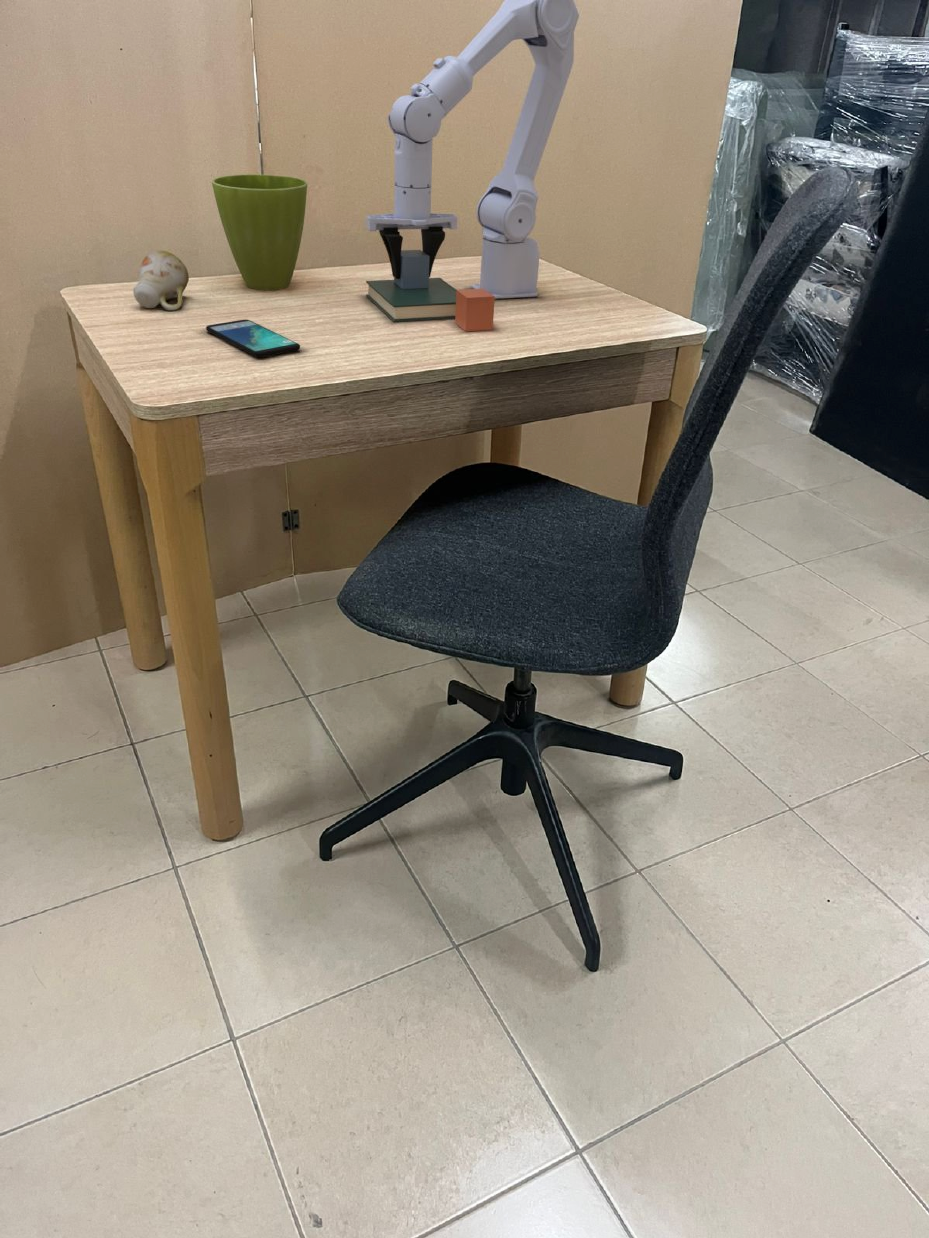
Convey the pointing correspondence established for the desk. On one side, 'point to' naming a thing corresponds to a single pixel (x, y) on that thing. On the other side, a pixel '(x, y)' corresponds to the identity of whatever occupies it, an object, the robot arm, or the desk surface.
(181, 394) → the desk surface
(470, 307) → the terracotta block
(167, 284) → the mug
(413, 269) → the slate block
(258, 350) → the smartphone
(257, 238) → the flower pot
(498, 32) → the robot arm
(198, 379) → the desk surface
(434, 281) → the book
